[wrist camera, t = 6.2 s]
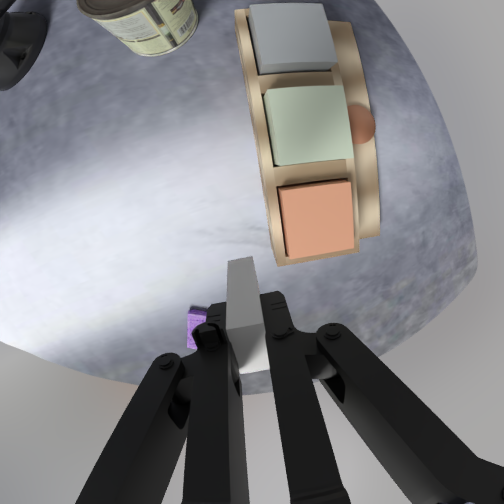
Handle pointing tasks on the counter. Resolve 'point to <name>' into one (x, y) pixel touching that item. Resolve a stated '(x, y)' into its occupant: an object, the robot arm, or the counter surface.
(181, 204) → the counter surface
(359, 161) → the key panel
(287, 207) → the terracotta key
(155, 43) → the coffee can
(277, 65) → the grey key
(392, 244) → the counter surface
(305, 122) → the sage key
